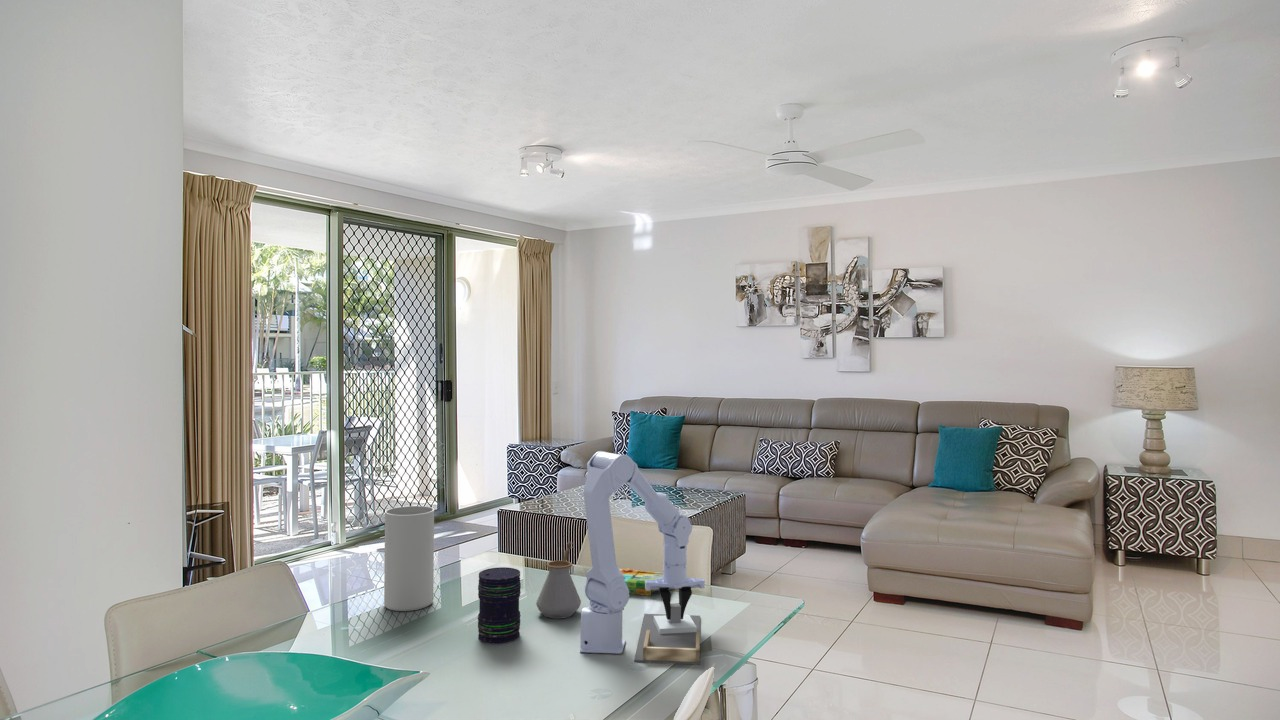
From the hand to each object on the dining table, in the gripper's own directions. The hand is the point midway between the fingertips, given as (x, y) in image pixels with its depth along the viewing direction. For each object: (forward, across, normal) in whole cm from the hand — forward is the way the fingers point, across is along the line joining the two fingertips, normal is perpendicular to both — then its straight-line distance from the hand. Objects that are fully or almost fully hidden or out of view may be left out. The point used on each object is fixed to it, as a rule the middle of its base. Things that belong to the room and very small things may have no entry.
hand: (674, 618), depth 180 cm
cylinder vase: (+2, -67, +26) cm, 72 cm away
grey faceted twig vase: (+2, -26, +18) cm, 32 cm away
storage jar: (+2, -42, 0) cm, 42 cm away
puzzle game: (+3, -6, +32) cm, 33 cm away
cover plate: (+2, 0, 0) cm, 2 cm away
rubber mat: (+2, -2, -6) cm, 7 cm away
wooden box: (+2, -3, -15) cm, 15 cm away
